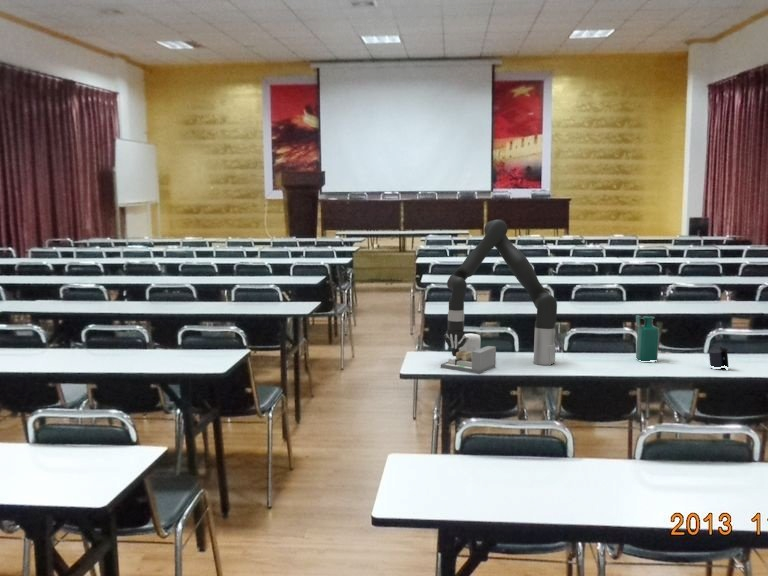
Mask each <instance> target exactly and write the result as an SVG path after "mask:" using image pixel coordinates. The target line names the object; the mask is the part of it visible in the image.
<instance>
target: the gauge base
mask: <svg viewBox="0 0 768 576" xmlns="http://www.w3.org/2000/svg"><path fill="white" fill-rule="evenodd" d="M496 353H497V347H496V346H493V345H492V346H491V345H486V346H484V347H480V349H478V350H475V351H473V352H472V358H471V362H467V361H461V360H459V361H457V365H455V360H456V358H454V359H452V358H448V360H447V361H446V362H444V363H441V364H440V368H442V369H448V370H454V371H460V372H466V373H473V374H477V375H478V374H482V373H486V372H487V371H490V370H492V369H494V368H496V366H497V365H496V363H497V361H496V360H497V359H496V358H497V354H496Z"/></svg>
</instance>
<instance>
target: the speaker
mask: <svg viewBox="0 0 768 576" xmlns="http://www.w3.org/2000/svg"><path fill="white" fill-rule="evenodd" d="M708 355H709V356H708V357H709V365H711V366H714V367H721V366H724V365H725V366H727V367H729V356H728V355H729V354H728V348H726V347H722V346H719V349H711V350H709V351H708Z"/></svg>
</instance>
